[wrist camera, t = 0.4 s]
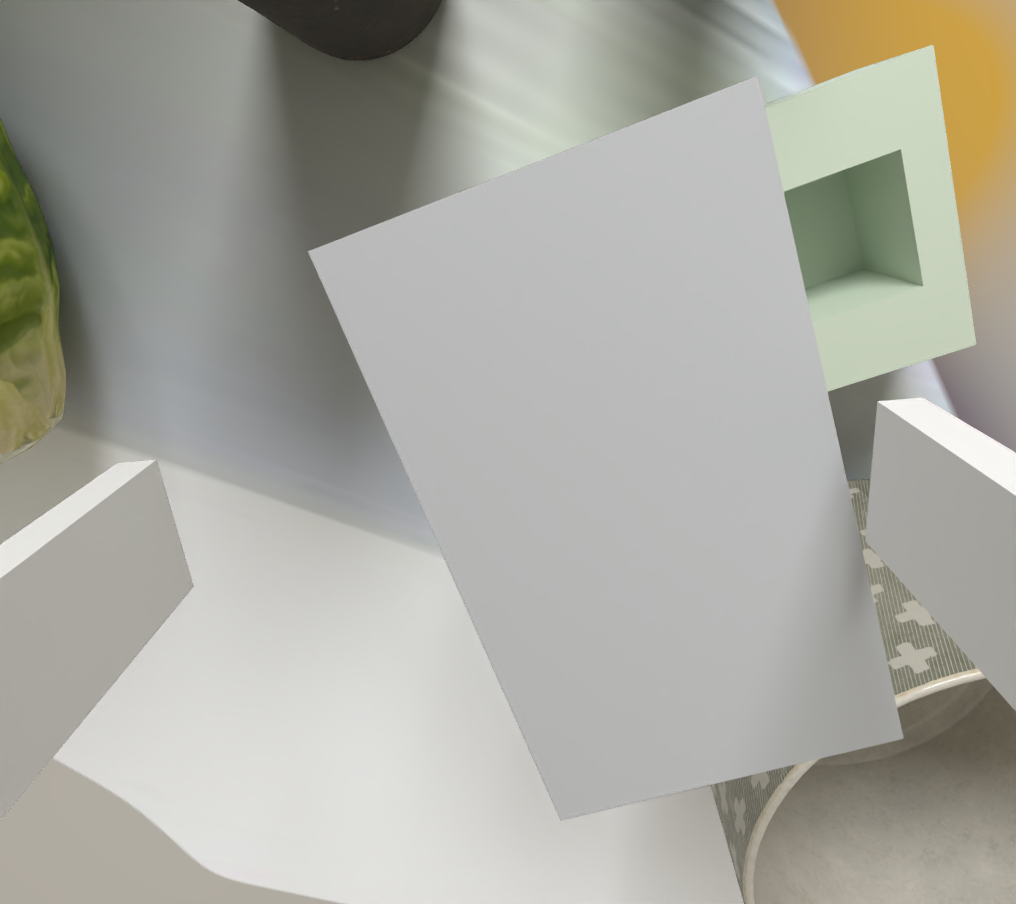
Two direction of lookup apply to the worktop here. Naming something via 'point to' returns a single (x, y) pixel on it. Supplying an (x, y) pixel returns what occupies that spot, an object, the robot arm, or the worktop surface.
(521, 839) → the worktop surface
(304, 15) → the container
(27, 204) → the lettuce
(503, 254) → the socket station
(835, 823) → the planter
